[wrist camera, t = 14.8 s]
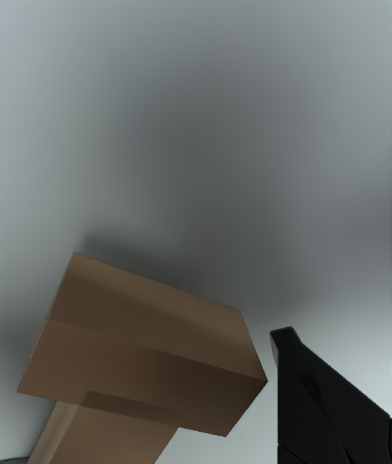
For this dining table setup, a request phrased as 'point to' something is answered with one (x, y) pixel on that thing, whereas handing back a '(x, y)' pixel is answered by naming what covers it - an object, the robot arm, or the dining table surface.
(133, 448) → the crank
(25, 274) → the dining table surface
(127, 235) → the dining table surface
